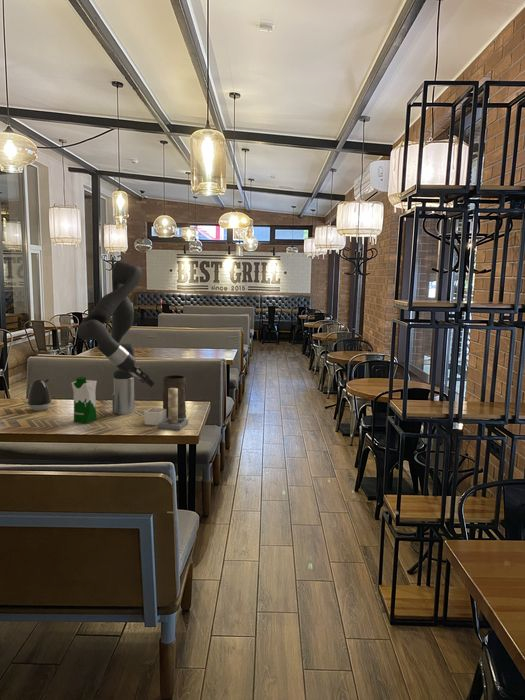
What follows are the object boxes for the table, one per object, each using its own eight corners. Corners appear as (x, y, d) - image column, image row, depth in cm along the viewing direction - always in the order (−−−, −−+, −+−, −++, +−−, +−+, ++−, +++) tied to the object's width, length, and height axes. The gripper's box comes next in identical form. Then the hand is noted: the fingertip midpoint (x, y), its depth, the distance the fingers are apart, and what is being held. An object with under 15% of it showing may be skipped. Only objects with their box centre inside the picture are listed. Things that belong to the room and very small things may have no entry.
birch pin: (166, 425, 207) (166, 389, 205) (170, 423, 211) (170, 387, 209) (175, 426, 206) (175, 390, 204) (179, 424, 210) (179, 388, 208)
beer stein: (180, 422, 216) (181, 378, 214) (158, 420, 218) (159, 376, 216) (192, 415, 231) (193, 374, 229) (171, 414, 233) (172, 373, 231)
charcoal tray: (157, 429, 205) (157, 423, 205) (166, 423, 215) (166, 417, 214) (179, 431, 203) (179, 425, 203) (188, 424, 213) (188, 419, 212)
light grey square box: (144, 425, 211) (144, 411, 210) (151, 420, 218) (151, 407, 217) (159, 426, 209) (159, 413, 209) (166, 421, 216) (166, 408, 216)
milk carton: (70, 422, 213) (69, 378, 210) (84, 417, 221) (83, 374, 218) (87, 424, 210) (85, 379, 207) (100, 419, 218) (99, 376, 216)
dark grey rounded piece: (56, 409, 234) (55, 378, 232) (36, 413, 225) (35, 381, 223) (43, 406, 239) (42, 376, 237) (23, 410, 231) (22, 379, 228)
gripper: (133, 353, 188) (161, 379, 195) (122, 348, 199) (148, 373, 207) (120, 367, 185) (149, 393, 193) (109, 362, 197) (137, 386, 205)
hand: (148, 383), depth 200 cm, fingers open, 8 cm apart
